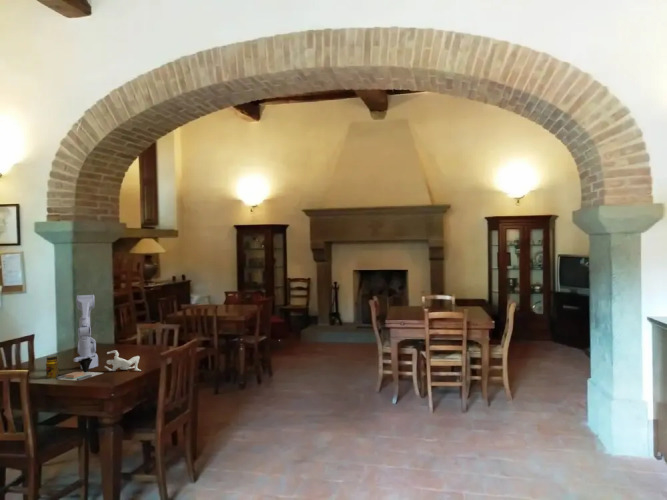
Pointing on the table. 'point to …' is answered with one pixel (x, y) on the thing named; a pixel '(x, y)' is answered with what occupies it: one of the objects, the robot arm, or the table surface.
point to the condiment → (52, 367)
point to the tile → (74, 375)
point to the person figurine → (122, 362)
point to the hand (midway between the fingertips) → (85, 372)
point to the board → (86, 375)
